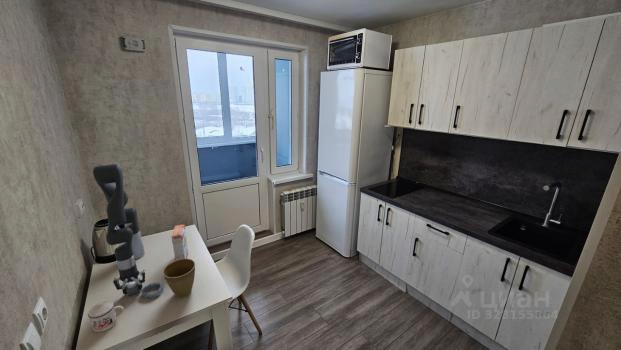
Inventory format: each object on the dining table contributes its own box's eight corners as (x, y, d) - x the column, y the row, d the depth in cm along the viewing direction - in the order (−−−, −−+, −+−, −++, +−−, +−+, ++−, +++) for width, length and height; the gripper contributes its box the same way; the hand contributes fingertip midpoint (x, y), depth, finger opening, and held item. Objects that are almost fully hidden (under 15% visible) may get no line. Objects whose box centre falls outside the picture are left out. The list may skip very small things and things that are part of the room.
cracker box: (186, 264, 157) (181, 234, 151) (175, 266, 155) (170, 236, 149) (189, 251, 170) (184, 223, 163) (179, 253, 168) (174, 225, 162)
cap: (127, 291, 135) (125, 282, 133) (140, 287, 137) (138, 279, 136) (126, 298, 130) (124, 289, 128) (139, 294, 133) (137, 285, 131)
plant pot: (169, 287, 138) (164, 262, 133) (199, 280, 143) (195, 256, 139) (165, 307, 125) (160, 280, 120) (198, 298, 130) (194, 272, 125)
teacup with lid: (91, 336, 109) (84, 315, 106) (94, 321, 116) (88, 301, 113) (124, 324, 115) (119, 303, 112) (126, 310, 123) (121, 291, 119)
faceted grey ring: (142, 290, 136) (142, 286, 135) (163, 283, 140) (162, 280, 139) (141, 302, 128) (140, 298, 127) (163, 295, 132) (162, 291, 131)
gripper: (143, 256, 135) (149, 282, 140) (110, 264, 128) (117, 292, 133) (143, 264, 129) (149, 291, 134) (108, 273, 122) (115, 301, 127)
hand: (133, 291), depth 133 cm, fingers open, 5 cm apart
